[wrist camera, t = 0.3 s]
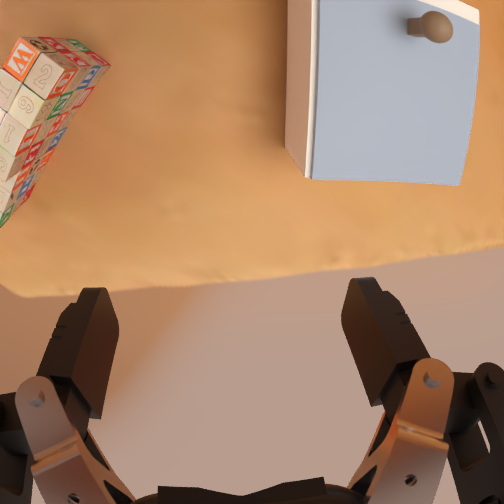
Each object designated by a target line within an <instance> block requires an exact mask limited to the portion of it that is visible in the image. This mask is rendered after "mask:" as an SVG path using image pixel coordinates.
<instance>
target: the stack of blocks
mask: <svg viewBox="0 0 504 504" xmlns="http://www.w3.org/2000/svg"><path fill="white" fill-rule="evenodd" d="M110 66H111V65H110V64H108V63H107V62H106V61H104V60H103V59H102V58H100V57H99V56H98V55H96V54H95V53H94V52H92V51H90V50H89V49H87V48H86V47H85V46H83V45H82V44H81V43H79V42H78V41H77V40H74V39H59V38H50V37H19V39H18V40H17V42H16V44H15V45H14V47H13V49H12V51H11V52H10V54H9V56H8V58H7V59H6V61H5V63H4V65H3V68H1V69H0V228H1V227H2V226H3V225H4V224H5V223H6V222H7V220H8V219H9V217H10V216H11V215H12V214H13V213H14V212H15V211H16V210H17V209H18V208H19V207H20V206H21V205H22V204H23V203H24V202H25V201H26V200H27V199H28V198H29V197H30V194H31V192H32V190H33V188H34V186H35V184H36V182H37V181H38V179H39V177H40V175H41V173H42V171H43V169H44V167H45V165H46V163H47V162H48V160H49V158H50V156H51V155H52V153H53V151H54V149H55V148H56V145H57V143H58V141H59V140H60V138H61V136H62V135H63V133H64V131H65V130H66V128H67V126H68V125H69V123H70V121H71V120H72V118H73V117H74V115H75V114H76V112H77V110H78V109H79V107H80V106H81V105H82V104H83V103H84V101H85V100H86V98H87V97H88V95H89V94H90V93H91V91H92V90H93V88H94V87H95V86H96V84H97V83H98V82H99V81H100V79H101V78H102V77H103V75H104V74H105V73H106V71H107V70H108V69H109V67H110Z"/></svg>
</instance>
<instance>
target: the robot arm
mask: <svg viewBox="0 0 504 504" xmlns="http://www.w3.org/2000/svg"><path fill="white" fill-rule="evenodd" d="M341 322H342V328H343V331H344V333H345V336H346V339H347V341H348V344H349V347H350V349H351V352H352V354H353V357H354V360H355V363H356V366H357V368H358V371H359V374H360V377H361V379H362V382H363V385H364V388H365V391H366V394H367V396H368V399H369V402H370V405H371V407H373V406H377V405H382V404H383V407H384V409H385V412H384V413H383V415H382V418H381V420H380V423H379V425H378V427H377V430H376V432H375V435H374V437H373V439H372V442H371V444H370V446H369V449H368V451H367V453H366V455H365V457H364V459H363V461H362V463H361V465H360V466H359V468H358V469H357V471H356V472H355V474H354V476H353V477H352V479H351V481H350V483H349V485H348V486H347V488H346V487H342V486H338V485H332V484H325V482H324V477H319V478H313V479H307V480H300V481H293V482H285V483H281V484H279V485H276V486H273V487H270V488H267V489H264V490H261V491H258V492H254V493H251V494H248V495H244V496H237V495H232V494H226V493H221V492H216V491H212V490H207V489H203V488H198V487H197V488H195V487H169V486H158V493H156V494H151V495H148V496H145V497H142V498H140V499H137V500H136V499H135V497H134V496H133V495H132V493H131V492H130V491H129V489H128V488H127V487H126V486H125V484H124V483H123V482H122V481H121V480H120V479H119V477H118V476H117V475H116V474H115V472H114V471H113V469H112V468H111V466H110V464H109V463H108V461H107V460H106V458H105V456H104V455H103V453H102V451H101V450H100V448H99V446H98V444H97V443H96V441H95V439H94V437H93V436H92V434H91V432H90V430H89V429H88V422H89V418H93V419H101V416H102V410H103V405H104V400H105V395H106V390H107V385H108V381H109V376H110V372H111V367H112V363H113V358H114V354H115V350H116V346H117V342H118V337H119V325H118V320H117V317H116V314H115V311H114V308H113V306H112V303H111V300H110V297H109V294H108V291H107V289H106V288H104V287H103V288H83V289H82V291H81V293H80V295H79V298H78V300H77V302H76V303H71V304H70V305H69V306H68V307H67V308H66V309H65V310H64V311H63V312H62V313H61V315H60V317H59V319H58V322H57V324H56V328H55V329H54V331H53V333H52V338H51V339H50V341H49V343H48V346H47V348H46V351H45V353H44V356H43V359H42V361H41V364H40V367H39V369H38V372H37V375H36V376H34V377H31V378H28V379H27V380H25V381H24V382H23V383H22V384H21V385H20V386H19V388H18V389H17V391H16V392H13V393H8V394H2V395H0V504H31V496H32V485H33V477H34V480H35V482H36V484H37V486H38V489H39V491H40V493H41V495H42V497H43V499H44V501H45V503H46V504H432V503H433V500H434V497H435V494H436V491H437V488H438V485H439V482H440V479H441V476H442V472H443V469H444V465H445V461H446V458H448V461H449V464H450V467H451V471H452V474H453V478H454V481H455V485H456V489H457V492H458V496H459V500H460V504H504V371H503V369H502V368H500V367H499V366H498V365H496V364H494V363H489V362H486V363H482V364H481V365H479V367H478V368H477V369H476V370H475V372H474V373H462V372H461V373H460V372H452V371H451V369H450V368H449V367H448V366H447V365H446V364H445V363H443V362H442V361H440V360H438V359H434V358H431V357H430V355H429V354H428V352H427V350H426V348H425V346H424V344H423V342H422V341H421V339H420V337H419V335H418V333H417V332H416V330H415V328H414V326H413V324H411V321H410V319H409V317H408V315H407V314H405V310H404V309H403V307H402V305H401V303H400V302H399V300H397V298H395V297H394V296H393V295H392V294H391V293H390V292H388V291H382V289H381V288H380V286H379V284H378V282H377V281H376V279H375V278H374V277H365V278H352V279H351V280H350V283H349V286H348V290H347V294H346V298H345V301H344V305H343V309H342V313H341ZM479 421H481V423H482V426H483V428H484V431H485V433H486V436H487V439H488V441H489V444H490V453H489V452H488V449H487V446H486V444H485V441H484V438H483V435H482V433H481V430H480V428H479V425H478V422H479Z"/></svg>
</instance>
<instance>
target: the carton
mask: <svg viewBox="0 0 504 504" xmlns="http://www.w3.org/2000/svg"><path fill="white" fill-rule="evenodd" d="M418 1H421V2H424V3H427V4H430V5H432V6H435V7H438V8H440V9H443V10H446V11H448V12H451V13H453V14H455V15H458V16H460V17H462V18H465V19H467V20H469V21H471V22H474V23H476V24H478V25H479V10H477V9H475V8H473V7H471V6H469V5H467V4H465V3H463V2H460V1H458V0H418ZM317 35H318V0H288V21H287V83H286V119H285V149H286V151H287V152H288V154H289V155H290V156H291V158H292V159H293V161H294V162H295V164H296V165H297V167H298V168H299V169H300V171H301V172H302V174H303V175H304V177H310V175H311V162H312V148H313V132H314V115H315V95H316V71H317Z"/></svg>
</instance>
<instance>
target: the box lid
mask: <svg viewBox="0 0 504 504" xmlns="http://www.w3.org/2000/svg"><path fill="white" fill-rule="evenodd" d="M479 45H480V25H478V24H476V23H474V22H471V21H469V20H467V19H465V18H462V17H460V16H458V15H455V14H453V13H451V12H448V11H446V10H443V9H440V8H438V7H435V6H432V5H430V4H427V3H424V2H421V1H418V0H318V35H317V71H316V95H315V115H314V132H313V148H312V162H311V175H310V178H311V179H312V180H359V181H389V182H410V183H427V184H441V185H454V186H460V181H461V177H462V173H463V168H464V164H465V159H466V154H467V149H468V144H469V138H470V132H471V126H472V120H473V113H474V106H475V97H476V88H477V78H478V65H479Z"/></svg>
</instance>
